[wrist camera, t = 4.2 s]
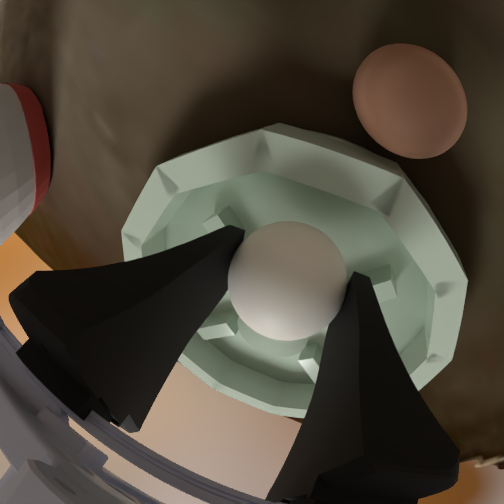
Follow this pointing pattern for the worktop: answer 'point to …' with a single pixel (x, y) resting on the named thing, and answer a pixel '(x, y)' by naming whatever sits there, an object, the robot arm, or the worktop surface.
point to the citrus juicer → (21, 156)
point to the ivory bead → (287, 280)
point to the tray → (324, 219)
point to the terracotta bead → (409, 101)
